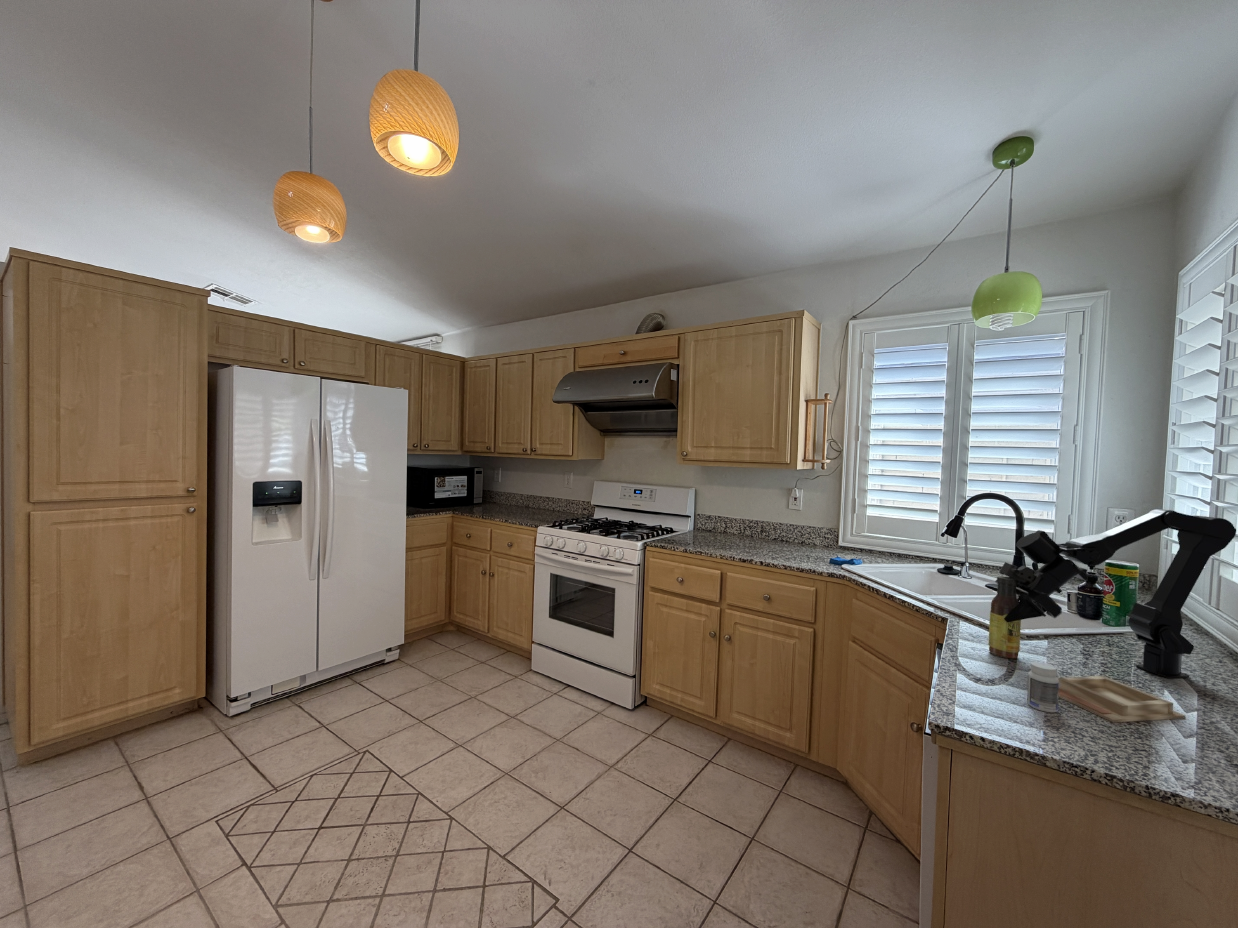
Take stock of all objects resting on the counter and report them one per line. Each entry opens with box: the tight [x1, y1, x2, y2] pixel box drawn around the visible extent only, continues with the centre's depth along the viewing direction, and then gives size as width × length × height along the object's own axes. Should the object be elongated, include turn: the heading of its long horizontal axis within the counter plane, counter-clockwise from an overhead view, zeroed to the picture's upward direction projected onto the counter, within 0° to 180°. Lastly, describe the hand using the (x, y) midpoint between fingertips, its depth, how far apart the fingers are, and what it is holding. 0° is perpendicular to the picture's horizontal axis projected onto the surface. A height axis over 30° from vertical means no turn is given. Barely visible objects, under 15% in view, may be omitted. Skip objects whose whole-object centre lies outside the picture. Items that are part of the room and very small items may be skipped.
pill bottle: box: [1026, 661, 1060, 713], centre depth 97 cm, size 5×5×8 cm
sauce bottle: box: [988, 575, 1022, 659], centre depth 123 cm, size 7×6×20 cm
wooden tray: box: [1057, 675, 1186, 723], centre depth 100 cm, size 17×14×2 cm
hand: (998, 616), depth 124 cm, fingers closed on sauce bottle, 6 cm apart
